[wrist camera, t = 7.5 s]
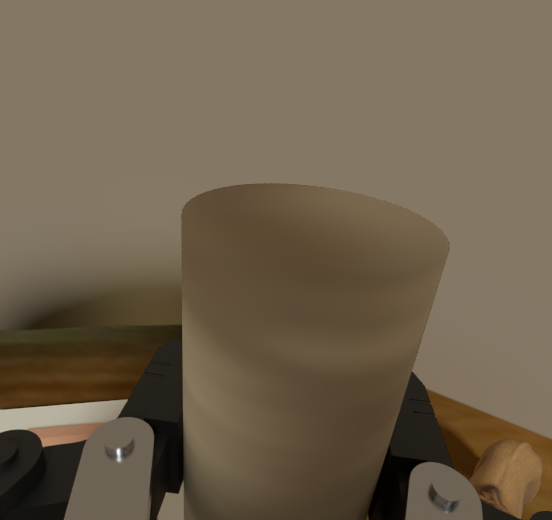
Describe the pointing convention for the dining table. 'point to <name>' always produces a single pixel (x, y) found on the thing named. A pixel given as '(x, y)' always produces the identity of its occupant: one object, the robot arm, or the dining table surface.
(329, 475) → the maple pin
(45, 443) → the board
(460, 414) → the dining table surface
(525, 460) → the lion figurine
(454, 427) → the dining table surface
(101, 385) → the dining table surface
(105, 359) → the dining table surface
